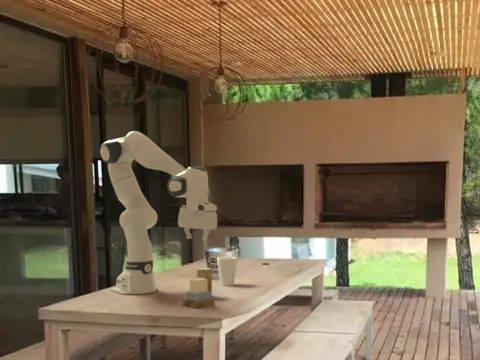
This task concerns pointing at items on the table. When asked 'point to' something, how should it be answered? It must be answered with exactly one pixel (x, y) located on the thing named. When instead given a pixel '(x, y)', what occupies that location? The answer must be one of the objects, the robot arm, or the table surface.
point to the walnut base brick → (198, 303)
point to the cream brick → (198, 285)
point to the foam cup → (227, 270)
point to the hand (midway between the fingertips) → (196, 239)
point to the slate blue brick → (198, 296)
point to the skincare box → (205, 276)
